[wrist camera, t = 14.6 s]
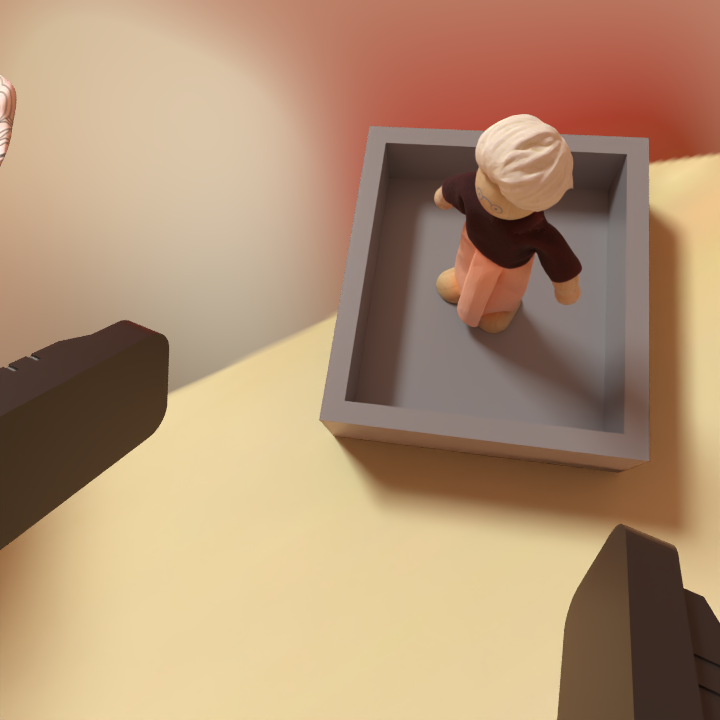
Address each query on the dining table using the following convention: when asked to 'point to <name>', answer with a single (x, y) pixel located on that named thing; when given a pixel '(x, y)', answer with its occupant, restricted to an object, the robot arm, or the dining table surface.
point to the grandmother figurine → (509, 222)
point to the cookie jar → (6, 114)
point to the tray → (522, 336)
